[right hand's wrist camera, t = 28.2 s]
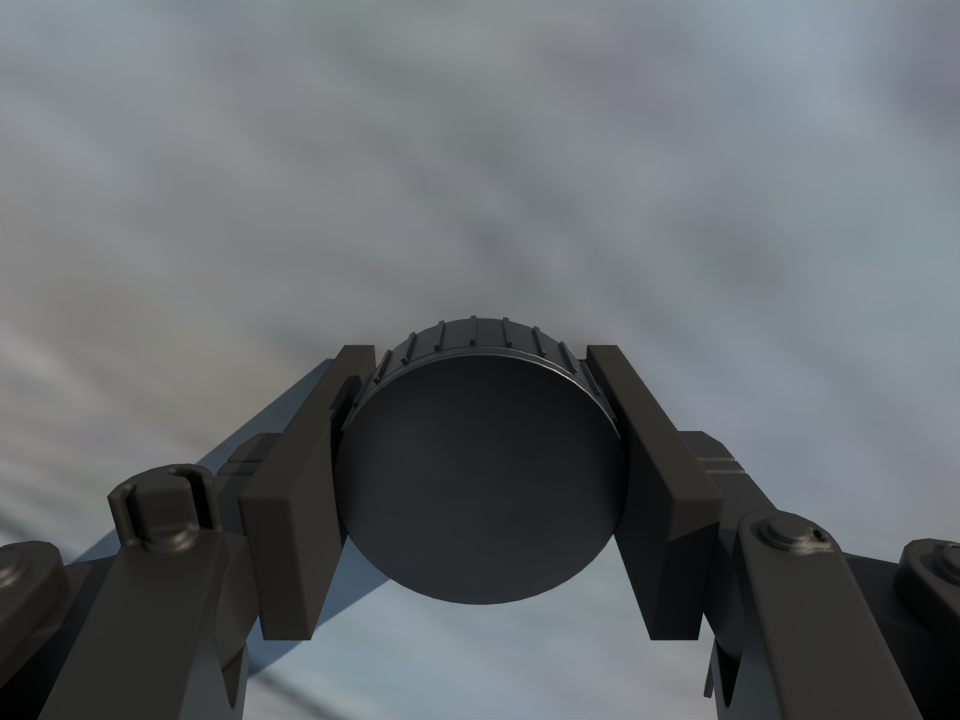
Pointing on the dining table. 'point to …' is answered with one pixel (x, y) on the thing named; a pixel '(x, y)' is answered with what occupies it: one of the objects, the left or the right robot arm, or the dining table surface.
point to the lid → (480, 464)
